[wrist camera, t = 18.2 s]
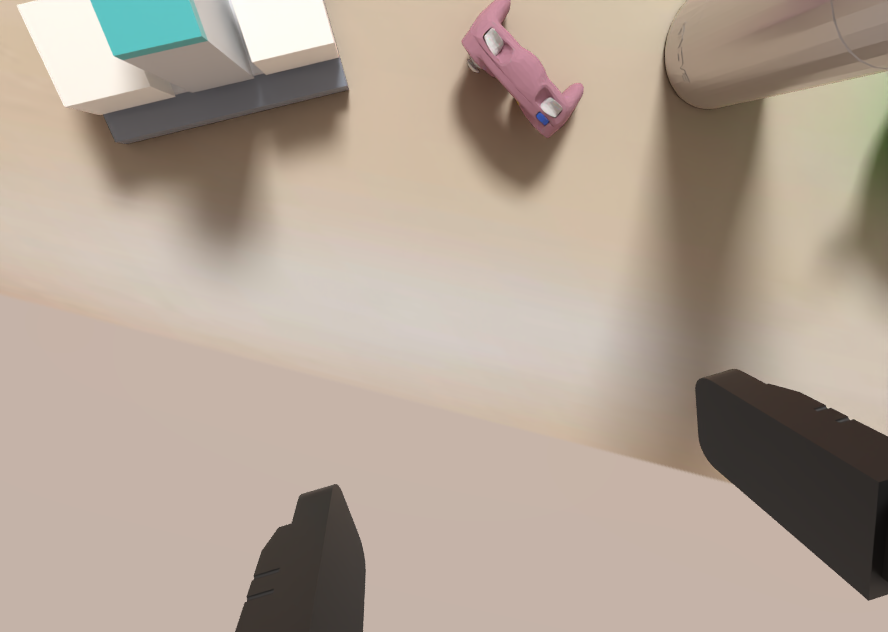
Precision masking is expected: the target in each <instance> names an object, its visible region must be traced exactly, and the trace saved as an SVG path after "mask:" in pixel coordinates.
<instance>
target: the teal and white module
mask: <svg viewBox="0 0 888 632" xmlns="http://www.w3.org/2000/svg"><path fill="white" fill-rule="evenodd" d="M90 1H91V4H92V6H93V8H94V11H95V13H96V16H97V18H98V20H99V23H100V25H101V28H102V30H103V32H104V35H105V37H106V40H107V42H108V44H109V47H110V49H111V51H112V54H113V56H115V57H117V58H119V59H121V60H123V61H125V62H127V63H129V64H132V65H134V66H136V67H138V68H140V69H142V70H144V71H147V72H149V73H151V74H153V75H155V76H157V77H159V78H162V79H164V80H166V81H168V82H170V83H172V84H174V85H176V86H179V87H181V88H183V89H185V90H187V91H189V92H191V93H194V92H198V91H203V90H207V89H211V88H216V87H220V86H224V85H228V84H233V83H237V82H241V81H246V80H250V79H254V75H253V72H252V69H251V66H250V63H249V60H248V57H247V54H246V51H245V48H244V45H243V42H242V39H241V36H240V33H239V30H238V27H237V24H236V21H235V18H234V15H233V12H232V9H231V6H230V3H229V0H90Z"/></svg>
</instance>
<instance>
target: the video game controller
mask: <svg viewBox="0 0 888 632" xmlns="http://www.w3.org/2000/svg"><path fill="white" fill-rule="evenodd" d="M509 9H510V0H495V1H494V2H492V3H491V4H490V5H489V6H488V7H487V8H486V9H485V10H483V11H482V12H481V13H480V14H479V16H478V17H477V18H476V20H475V22H474V23H473V25H472V27H471V28H470V30H469V31H468V33H467V34H466V35H465V37H464V38H463V39H462V44H463V46H464V47H465V49H466V50H467V52H468V53H469V55H470V58H471V61H470V60H469V59H467V64H468V66H469V68H470V69H471V70H472V71H473V72H477V73H479V69H478V68H481V69H483V70H485V71H486V72H487V73H488V74H489V75H491V76H492V77H496V78H497V79H498V80H499V81H500V83H501V84H502V85H503V86H504V87H505V88H506V89H507V90H508V92H509V93H510V94H511V95H512V96H513V97H514V98H515V99H516V100H517V104H518V105H519V107H520V109H521V110H522V112H523V113H524V115H525V116H526V118H527V119H528V120H529V122H530V123H531V124H532V125H533V126H534V127H535V128H536V129H537V130H538V131H539V132H540V133H541V134H542V135H543V136H545V137H546V138H549V137H550V136H551V135H553V134H554V133H555V132H556V131H557V130H559V129H560V128H561V127H562V126H563V125H564V124H565V123H566V121H567V120H568V119H569V117H570V115H571V114H572V112H573V111H574V109H575V107H576V106H577V104H578V102H579V100H580V99H581V97H582V95H583V89H584V87H583V85H582V84H581V83H575V84H573V85H571V86H570V87H568V88H567V89H566V90H565V91H564V92H563V93H562V94H561V92H560V91H559V90H558V89H557V87H556V86H555V85H554V84H553V83H552V82H551V81H550V79H549V78H548V76H547V74H546V72H545V69H544V67H543V65H542V64H541V62H540V61H539V59H538V58H537V57H536V56H535V55H534V54H532V53H531V52H530V51H528V50H526V49H525V48H523V47H521V46H520V45H519V43H518V42H517V41H516V40H515V39H514V38H513V36H512V35H511V34H510V33H509V32H508V31H507V30H506V29H505V28H504V27H503V26H502V25H501V24H502V22H503V20H504V19H505V17H506V15H507V14H508V12H509ZM477 67H478V68H477Z"/></svg>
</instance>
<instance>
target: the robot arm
mask: <svg viewBox="0 0 888 632" xmlns="http://www.w3.org/2000/svg"><path fill="white" fill-rule="evenodd" d="M665 65H666V71H667V75H668V78H669V80H670V83H671V85H672V87H673V88H674V90H675V91H676V93H677V94H678V95H679V96H680V97H681V98H682V99H683V100H684V101H685V102H687V103H689V104H690V105H692V106H694V107H698V108H702V109H716V108H721V107H725V106H730V105H734V104H739V103H743V102H748V101H753V100H758V99H763V98H767V97H772V96H776V95H781V94H785V93H790V92H795V91H799V90H804V89H808V88H813V87H817V86H822V85H826V84H831V83H835V82H840V81H844V80H849V79H854V78H858V77H863V76H867V75H872V74H876V73H881V72H885V71H888V0H687V1H686V2H685V3H684V4H683V6H682V7H681V8H680V9H679V11H678V13H677V14H676V16H675V18H674V20H673V21H672V24H671V27H670V30H669V32H668V36H667V41H666V46H665ZM695 392H696V406H697V421H698V436H699V442H700V446H701V448H702V451H703V453H704V455H705V456H706V458H707V460H708V461H709V462H710V463H711V465H712V466H713V467H714V468H715V469H716V470H718V471H719V472H720V473H721V474H722V475H723V476H725V477H726V478H727V479H728V480H729V481H730V482H732V483H733V484H734V485H735V486H736V487H737V488H739V489H740V490H741V491H742V492H743V493H744V494H746V495H747V496H748V497H749V498H750V499H751V500H753V501H754V502H755V503H756V504H757V505H758V506H759V507H761V508H762V509H763V510H764V511H765V512H767V513H768V514H769V515H770V516H771V517H772V518H773V519H774V520H776V521H777V522H778V523H779V524H780V525H782V526H783V527H784V528H785V529H786V530H787V531H789V532H790V533H791V534H792V535H793V536H794V537H795V538H797V539H798V540H799V541H800V542H801V543H803V544H804V545H805V546H806V547H807V548H808V549H809V550H810V551H812V552H813V553H814V554H815V555H816V556H817V557H819V558H820V559H821V560H822V561H823V562H824V563H826V564H827V565H828V566H829V567H830V568H831V569H833V570H834V571H835V572H836V573H837V574H838V575H839V576H841V577H842V578H843V579H844V580H845V581H846V582H848V583H849V584H850V585H851V586H852V587H853V588H855V589H856V590H857V591H858V592H859V593H860V594H862V595H863V596H864V597H865V598H866V599H867V600H872V599H875V598H878V597H881V596H884V595H887V594H888V436H886V435H884V434H882V433H880V432H878V431H876V430H874V429H872V428H870V427H868V426H866V425H864V424H862V423H860V422H858V421H856V420H854V419H853V420H849V418H848V416H846V415H844V414H842V413H840V412H838V411H836V410H834V409H832V408H829V409H827V408H826V405H824V404H822V403H820V402H818V401H816V400H814V399H812V398H810V397H808V396H806V395H804V394H802V393H800V392H797V391H794V390H790V389H786V388H782V387H779V386H775V385H771V384H765V383H763V382H761V381H759V380H757V379H756V378H754V377H752V376H750V375H748V374H746V373H744V372H742V371H740V370H737V369H731V370H728V371H725V372H721V373H718V374H714V375H711V376H707V377H704V378H701V379H699V380H698V381H697V383H696V387H695ZM365 572H366V569H365V558H364V552H363V547H362V543H361V540H360V537H359V534H358V532H357V529H356V527H355V524H354V522H353V519H352V517H351V514H350V511H349V509H348V506H347V503H346V501H345V499H344V496H343V493H342V491H341V489H340V487H339V486H338V485H337V484H334V485H331V486H328V487H324V488H321V489H317V490H314V491H311V492H307V493H304V494H301V495H300V496H299V499H298V502H297V506H296V510H295V513H294V517H293V521H292V524H289V525H285V526H282V527H279V528H278V529H277V530H276V532H275V533H274V535H273V536H272V537H271V539H270V540H269V542H268V543H267V544H266V546H265V547H264V549H263V550H262V552H261V555H260V558H259V561H258V564H257V567H256V570H255V573H254V580H253V581H252V582H251V585H250V589H249V591H248V595H247V602H245V604H244V607H243V610H242V613H241V616H240V619H239V622H238V625H237V628H236V631H235V632H363V617H364V595H365Z"/></svg>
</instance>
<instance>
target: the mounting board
mask: <svg viewBox="0 0 888 632" xmlns="http://www.w3.org/2000/svg"><path fill="white" fill-rule="evenodd" d="M229 3H230V6H231V9H232V12H233V15H234V18H235V21H236V24H237V27H238V30H239V33H240V36H241V39H242V42H243V45H244V48H245V51H246V54H247V57H248V60H249V63H250V66H251V69H252V72H253V75H254V79H250V80H246V81H241V82H237V83H233V84H228V85H224V86H220V87H216V88H211V89H207V90H203V91H198V92H194V93H191V92H189V91H187V90H185V89H183V88H181V87H179V86H176V85H174V84H172V83H170V82H168V81H166V80H164V79H162V78H159V77H157V76H155V75H153V74H151V73H149V72H147V71H144V70H142V69H140V68H138V67H136V66H134V65H132V64H129V63H127V62H125V61H123V60H121V59H119V58H117V57H115V56H113V54H112V51H111V49H110V47H109V44H108V42H107V40H106V37H105V35H104V32H103V30H102V28H101V25H100V23H99V20H98V18H97V16H96V13H95V11H94V8H93V6H92V4H91V1H90V0H37V1H32V2H28V3H23V4H19V5H17V7H18V9H19V12H20V14H21V16H22V18H23V20H24V22H25V24H26V26H27V28H28V31H29V33H30V35H31V37H32V39H33V41H34V43H35V45H36V47H37V50H38V52H39V54H40V56H41V58H42V60H43V62H44V64H45V67H46V69H47V71H48V73H49V75H50V77H51V79H52V81H53V83H54V86H55V88H56V90H57V92H58V94H59V96H60V98H61V100H62V103H63V105H64V107H67V108H71V109H75V110H79V111H84V112H88V113H92V114H96V115H102V114H103V116H104V118H105V120H106V123H107V125H108V127H109V129H110V131H111V134H112V136H113V138H114V140H115V142H117V143H124V144H129V143H133V142H137V141H141V140H145V139H149V138H153V137H157V136H162V135H166V134H170V133H174V132H178V131H182V130H186V129H190V128H194V127H198V126H202V125H206V124H211V123H215V122H219V121H223V120H227V119H231V118H235V117H239V116H243V115H247V114H251V113H255V112H260V111H264V110H268V109H272V108H276V107H280V106H284V105H288V104H292V103H296V102H300V101H305V100H309V99H313V98H317V97H321V96H325V95H329V94H333V93H337V92H341V91H345V90H349V88H348V84H347V81H346V77H345V74H344V70H343V66H342V63H341V59H340V56H339V52H338V49H337V45H336V42H335V38H334V34H333V31H332V27H331V24H330V20H329V17H328V13H327V10H326V6H325V2H324V0H229Z"/></svg>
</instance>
